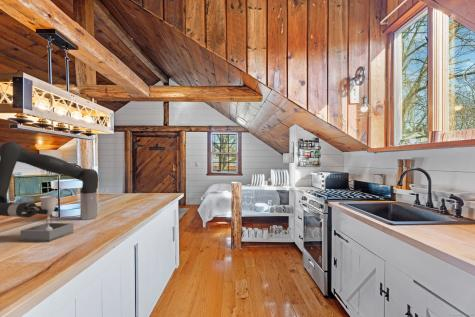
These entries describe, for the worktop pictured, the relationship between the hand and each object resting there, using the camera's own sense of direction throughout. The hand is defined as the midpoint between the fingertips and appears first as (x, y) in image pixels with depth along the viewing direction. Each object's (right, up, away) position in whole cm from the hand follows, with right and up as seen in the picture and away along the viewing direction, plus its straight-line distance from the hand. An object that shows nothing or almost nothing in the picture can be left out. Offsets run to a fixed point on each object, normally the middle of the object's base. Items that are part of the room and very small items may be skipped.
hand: (52, 210), depth 123 cm
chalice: (-2, -11, 0) cm, 11 cm away
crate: (-2, -13, 0) cm, 13 cm away
